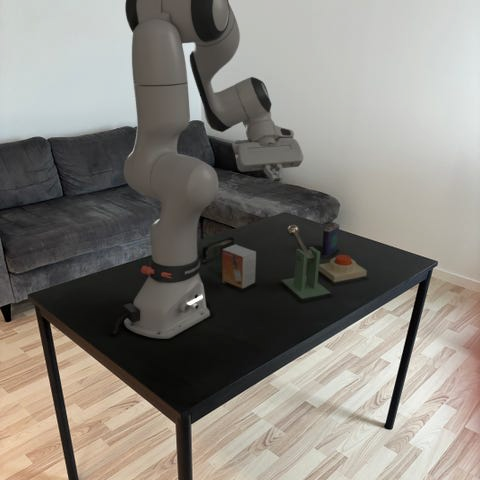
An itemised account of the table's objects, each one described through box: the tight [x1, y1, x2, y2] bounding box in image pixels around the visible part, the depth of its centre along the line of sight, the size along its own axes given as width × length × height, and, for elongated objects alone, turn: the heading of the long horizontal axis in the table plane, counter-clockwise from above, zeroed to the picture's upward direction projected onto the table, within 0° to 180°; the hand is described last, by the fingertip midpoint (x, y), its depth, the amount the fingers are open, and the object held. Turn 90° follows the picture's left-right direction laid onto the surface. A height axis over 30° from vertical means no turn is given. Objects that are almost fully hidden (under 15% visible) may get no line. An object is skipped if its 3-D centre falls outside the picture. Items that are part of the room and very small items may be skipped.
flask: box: [321, 221, 340, 256], centre depth 155 cm, size 9×3×11 cm, turn 147°
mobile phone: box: [202, 236, 235, 264], centre depth 154 cm, size 5×3×15 cm
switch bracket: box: [280, 246, 331, 300], centre depth 131 cm, size 12×9×12 cm
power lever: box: [287, 224, 315, 265], centre depth 132 cm, size 13×3×3 cm, turn 23°
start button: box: [335, 254, 352, 266], centre depth 140 cm, size 4×4×2 cm
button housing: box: [319, 257, 368, 283], centre depth 141 cm, size 11×9×4 cm
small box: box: [221, 243, 257, 289], centre depth 134 cm, size 8×6×10 cm
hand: (276, 180), depth 138 cm, fingers closed
